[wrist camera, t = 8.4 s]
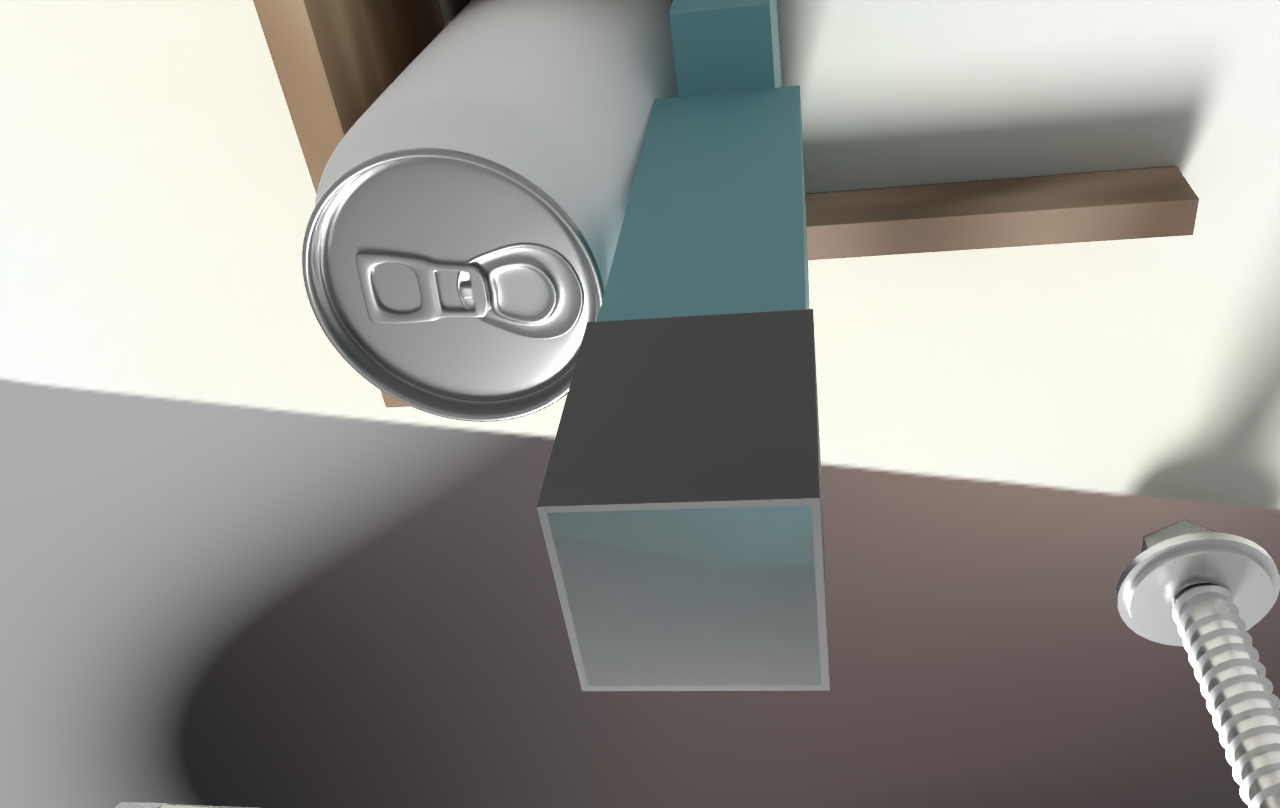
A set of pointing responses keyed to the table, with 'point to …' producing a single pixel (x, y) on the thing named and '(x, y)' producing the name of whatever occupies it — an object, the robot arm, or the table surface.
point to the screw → (1214, 637)
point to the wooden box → (836, 221)
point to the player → (700, 395)
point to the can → (488, 203)
